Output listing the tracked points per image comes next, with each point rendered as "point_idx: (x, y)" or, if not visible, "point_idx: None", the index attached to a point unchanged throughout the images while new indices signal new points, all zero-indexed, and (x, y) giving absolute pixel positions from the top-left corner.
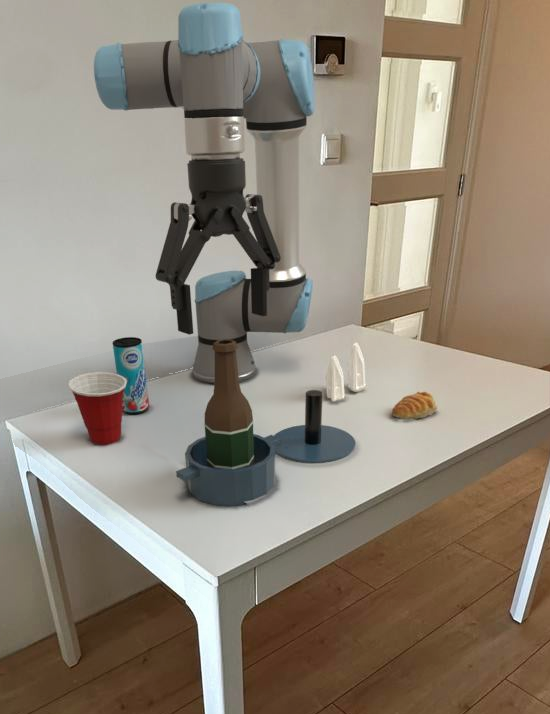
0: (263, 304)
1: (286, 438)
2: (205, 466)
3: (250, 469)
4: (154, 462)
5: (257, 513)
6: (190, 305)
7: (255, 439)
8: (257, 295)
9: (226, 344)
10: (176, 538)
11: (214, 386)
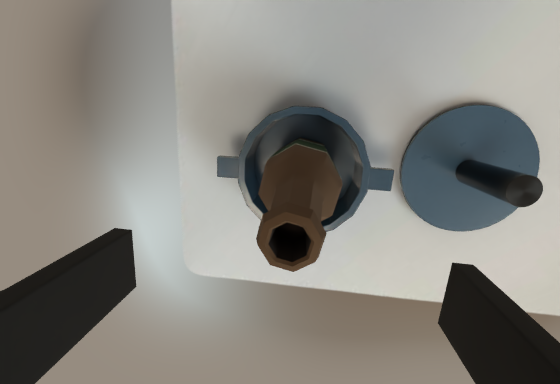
0: (462, 357)
1: (453, 134)
2: (245, 186)
3: None
4: (269, 30)
5: None
6: (57, 357)
7: (362, 167)
8: (488, 354)
9: (276, 263)
10: (187, 207)
11: (275, 188)
